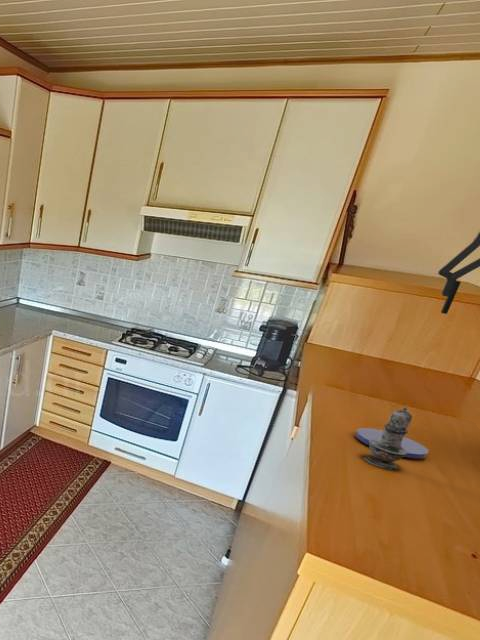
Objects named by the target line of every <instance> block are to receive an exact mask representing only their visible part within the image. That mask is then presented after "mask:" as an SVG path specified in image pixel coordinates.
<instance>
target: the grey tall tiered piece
mask: <svg viewBox="0 0 480 640" xmlns="http://www.w3.org/2000/svg"><path fill="white" fill-rule="evenodd" d="M407 410H408V407H407V406H404V407H402V409H397V410H394V411H393V412H392V413H391V416H390V418H389V420H388V422H387V424H384V425H383V427H384V430H383V431H384V432H383V434H382V436H381V437H380V438H379V439H378V440H370V441H369V443H370V445H368V448H369V452H370V454H369V455H365V456H364V457H363V459H364V460H365V461H366V462H368V463H369V464H371V465H373V466H375V467H378V468H380V469H384V470H391V471H397V470H399V467H398V465H397V464H396V463H395V462H397V461H400V460H401V459H402V458H404V457H403V456H404V455H406V454H407V451H406V450H405V449H403V448H402V447H401V443H402V440H403V438H404V437H405V435H407V434H409V431H408V428H409V426H410V424H411V421H412V419H413V415H412V414H411V413H410V412H408V411H407Z"/></svg>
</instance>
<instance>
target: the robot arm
mask: <svg viewBox="0 0 480 640" xmlns="http://www.w3.org/2000/svg"><path fill="white" fill-rule="evenodd" d="M479 247H480V231H478V233H477V234H476V235H475V237H474V239H473V240H472V242H471V243H469V244H468V245H467V246H465V248H464V249H462V250H461V251H460V252H459V253H458V254H456V255H455V256H454V257H453V258H452V259H451V260H450V261H448V262H447V263H446V264H445V265H444V266H443V267H441V268H440V269H439V270H438V271H437V274H438V275H439V276H441V277H443V278H445V279H446V281H445V284H444V287H443V289H442V291H441V296H442V297H446V298H445V302H444V303H443V306H442V307H441V310H440V313H441V314H444V315H447V314H448V313H449V310H450V308H451V306H452V304H453V301H454V299H455V297H456V294H457V292H458V290H459V287H460V285H461V283H462V281H460V280H458V279H460V278H462V277H463V276H465V275H467V274H469V273H471V272H473V271H474V270H476V269H478V268H479V267H480V257H479V258H478V259H475V260H474V261H472V262H470V263H468V264H466V265H464V266H463V267H461V268H460V269H457V270H456V271H454V272H451V271H452V270H453V269H454V268H455V267H457V266H458V265H459V264H460V263H461V262H463V261H464V260H465V259H466V258H467V257H468V256H470V255H471V254H472V253H474V252H475V251H476V250H477V249H478V248H479Z"/></svg>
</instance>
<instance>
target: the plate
mask: <svg viewBox="0 0 480 640" xmlns="http://www.w3.org/2000/svg"><path fill="white" fill-rule="evenodd" d="M383 432H384V430H383V429H382V430H381V429H377V428H369V427H361V428H358V429H357V430H356V432H355V437H356V439H358V440H359V441H360V442H362V443H364V444H365V445H367V446H370V443H369V441H370V440H378V439H379V438H380V437H381V436H382V434H383ZM401 447H402V448H403V449H405V450H406V451H407V454H406V455H404V456H403V458H409V459H419V460H420V459H425V458H427V456H428V454H429V452H430V451H429V450H428V448H427V447H425V446H424V444H423V445H422V443H419V442H417V441H416V440H413V439H411V438H408V437H406V436H404V438H403V440H402V443H401Z"/></svg>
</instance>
